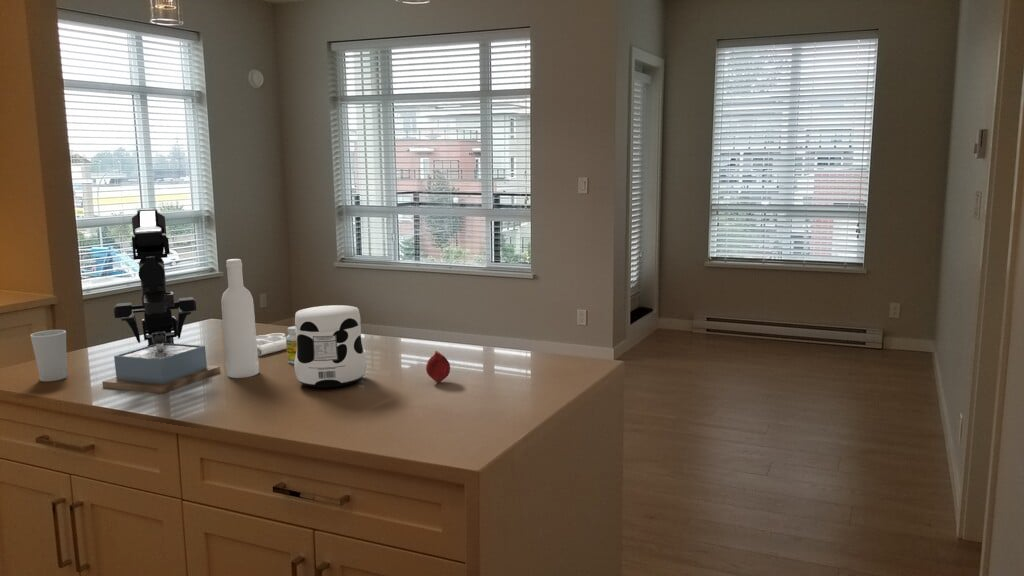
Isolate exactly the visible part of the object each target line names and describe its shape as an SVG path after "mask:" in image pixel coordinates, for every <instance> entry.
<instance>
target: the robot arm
mask: <svg viewBox="0 0 1024 576" xmlns="http://www.w3.org/2000/svg"><path fill="white" fill-rule="evenodd" d="M136 212H137V213H136V214H135V215H134V216H132V217H131V225H132V234H133V235H131V244H132V245H131V246H132V257H133V260H134V261H135V260H139V261H138V267H139V268H138V277H139V279H140V285H141V287H140V289H141V304H135V305H133V302H132V301H131V302H121V303H116V304H115V305H114V307H113V313H114V319H120V321H122V322H124V321H125V322H126V323H127V324H128V326H129V327H130V329H131V330H132V333H133V335H134V337H135V339H136V341H137V343H138V344H140V343H141V336H140V332H139V331H140V330H139V328H138V323H137V318H136V313H143V315H144V318H142V319H141V322H142V324H141V325H142V332H143V339H144V340H143V341H147V346H150V345H154V343H153V341H152V333H154V332H166V342H164V343H173V344H175V342H174V341H175V340H174V338H177V339H178V340H180V339H181V334H182V330H183V327H184V323H185V321H186V318H187V316H188V315H192V312H195V311H197V301H196V299H195V298H194V297H193V296H189V297H179V298H178V301H175V299H174V298H175V297H174V292H173V291H168V290H167V281H166V279H167V278H166V269H165V268H166V267H165V262H164V261H165V260H164V259H165V258H166V259H167V258H168V255H169V254H170V251H171V250H170V243H169V242H170V241H169V238H168V237H167V226H166V217H165V216H164V215H163V214H161V213H160V212H159V211H158V209H157V208H150V207H149V208H139V209H137V211H136ZM172 310H177V311H178V313H177V314H178V315H177V316H178V317H177V319H176V317H175V315H173V314H172Z"/></svg>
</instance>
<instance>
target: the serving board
mask: <svg viewBox="0 0 1024 576" xmlns="http://www.w3.org/2000/svg"><path fill="white" fill-rule="evenodd" d="M219 373H221V366H219V365H208V364H207V369H204V370H201V371H198V372H195V373H193V374H190V375H187V376H184V377H181V378H179V379H176V380H173V381H170V382H167V383H165V384H157V383H147V382H137V381H127V380H118V379H117V378H116V376H115V377H112V378H108V379H106V380H103V381H102V382H101V383H102V388H104V389H106V388H107V389H114V390H115V389H117V390H126V391H134V392H144V393H151V394H152V393H154V394H164V393H167V392H170V391H174V390H175V389H178V388H181V387H184V386H186V385H189V384H192V383H195V382H197V381H200V380H202V379H205V378H207V377H210V376H213V375H216V374H219Z"/></svg>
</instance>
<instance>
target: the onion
mask: <svg viewBox="0 0 1024 576" xmlns="http://www.w3.org/2000/svg"><path fill="white" fill-rule="evenodd" d="M425 371H426V374H427V375H428V376H429V378H431V380H433V381H434V382H435V383H437V384H438V383H439V384H440V383H441V382H442V381H444V380H445V379H446V378H447V377H448V376H449V374H450V372H451V363H450V361H449V360H448V359H447V357H445V356H444V355H443V354H442V353H440V352H439V350H435V351H434V354H432V356H431V357H430V358H429V359H428V361H427V362H426V366H425Z"/></svg>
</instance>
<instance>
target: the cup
mask: <svg viewBox="0 0 1024 576" xmlns="http://www.w3.org/2000/svg"><path fill="white" fill-rule="evenodd" d="M30 339H31V344H32V347H33V353H34V357H35V358H34V359H35V362H36V366H37V370H38V376H39V381H40V382H55V381H60V380H63V379H66V378H68V377H69V376H68V362H67V361H68V360H67V359H68V357H67V355H68V354H67V331H66V330H64V329H50V330H49V329H48V330H44V331H43V330H42V331H41V330H40V331H37V332H34V333H30Z"/></svg>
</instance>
